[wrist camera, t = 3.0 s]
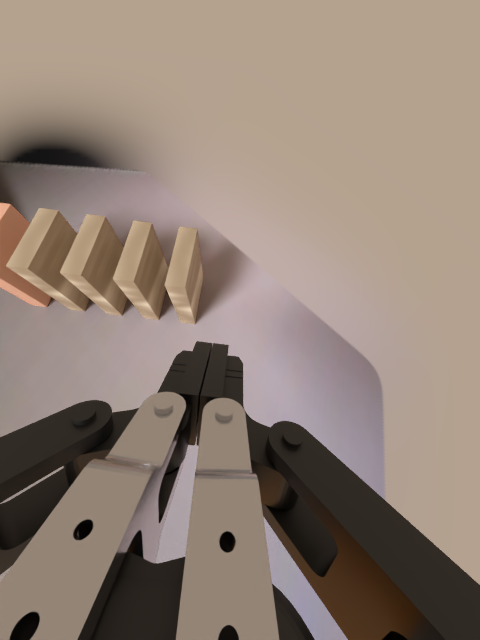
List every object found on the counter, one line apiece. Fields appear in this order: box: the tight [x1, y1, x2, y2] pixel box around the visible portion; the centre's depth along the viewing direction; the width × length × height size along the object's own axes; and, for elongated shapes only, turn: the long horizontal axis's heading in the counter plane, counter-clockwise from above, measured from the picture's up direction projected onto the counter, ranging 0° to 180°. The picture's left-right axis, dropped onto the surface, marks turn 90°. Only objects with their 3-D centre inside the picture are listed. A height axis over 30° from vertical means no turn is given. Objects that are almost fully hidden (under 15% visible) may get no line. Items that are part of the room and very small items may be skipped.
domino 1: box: [0, 203, 51, 307], centre depth 22 cm, size 2×6×8 cm, turn 175°
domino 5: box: [165, 227, 203, 324], centre depth 23 cm, size 2×6×8 cm, turn 175°
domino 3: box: [60, 214, 128, 315], centre depth 22 cm, size 2×6×8 cm, turn 175°
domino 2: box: [6, 208, 90, 311], centre depth 22 cm, size 2×6×8 cm, turn 174°
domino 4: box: [113, 220, 169, 320], centre depth 23 cm, size 2×6×8 cm, turn 175°
